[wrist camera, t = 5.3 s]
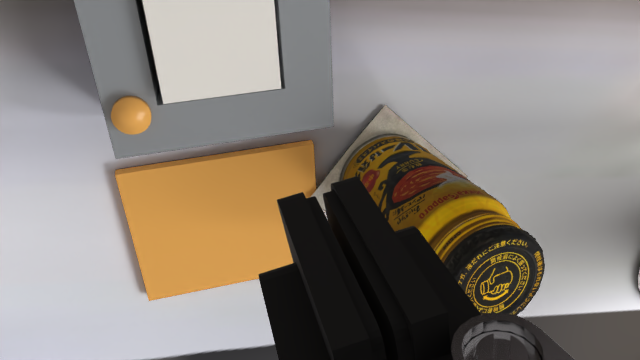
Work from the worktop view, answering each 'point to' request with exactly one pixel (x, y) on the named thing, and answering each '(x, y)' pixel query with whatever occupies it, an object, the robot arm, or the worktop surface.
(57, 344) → the worktop surface
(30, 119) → the worktop surface
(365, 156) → the condiment
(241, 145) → the worktop surface
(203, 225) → the lockout pad
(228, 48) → the button
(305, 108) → the box
